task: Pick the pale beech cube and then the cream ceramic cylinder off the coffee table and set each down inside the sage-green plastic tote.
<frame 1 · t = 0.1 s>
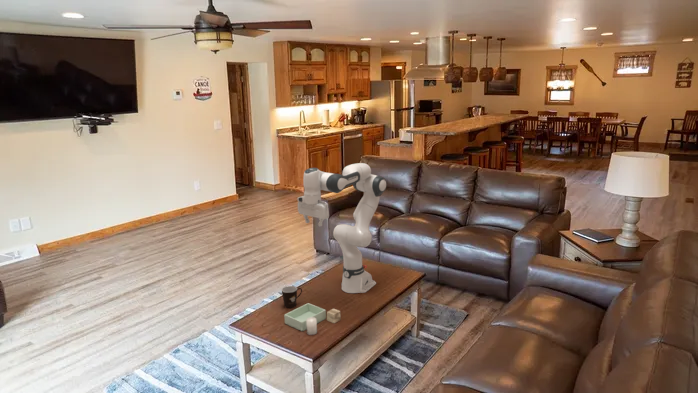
hand: (313, 224, 254), 48 cm above the table, fingers open, 8 cm apart
tote: (305, 321, 250), on the table
coffee mug: (293, 305, 268), on the table
ceramic cylinder: (312, 332, 239), on the table
beech cube: (333, 320, 250), on the table
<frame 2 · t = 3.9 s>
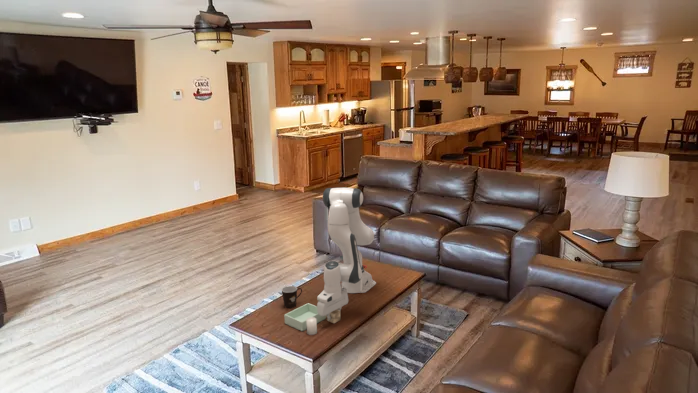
hand: (333, 317, 250), 2 cm above the table, fingers closed on beech cube, 5 cm apart
beech cube: (333, 320, 250), on the table, touching gripper
everything else where it was.
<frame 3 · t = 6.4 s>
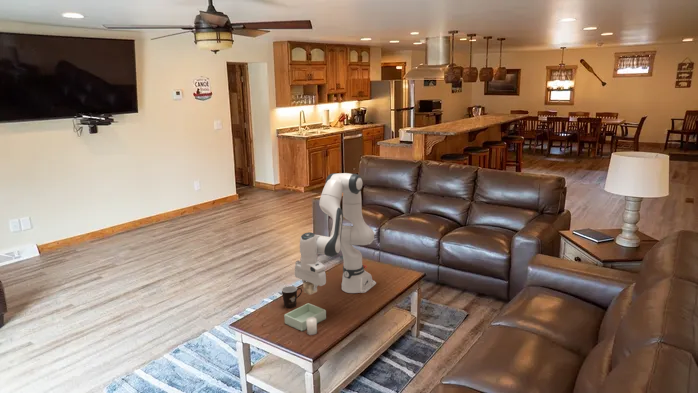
hand: (310, 289, 249), 16 cm above the table, fingers closed on beech cube, 5 cm apart
beech cube: (310, 291, 250), point 15 cm above the table, touching gripper
everything else where it was.
when the fingers open (4 cm above the table, at t = 9.0 s): beech cube drops 1 cm, resting on tote.
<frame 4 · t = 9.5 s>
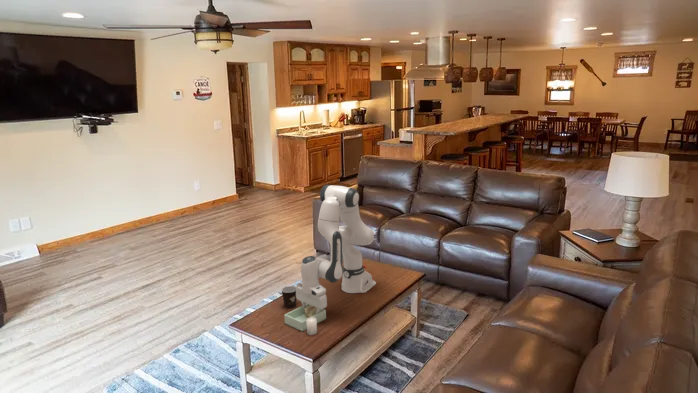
hand: (311, 311, 252), 4 cm above the table, fingers open, 8 cm apart
beech cube: (311, 316, 253), point 1 cm above the table, touching tote
everything else where it was.
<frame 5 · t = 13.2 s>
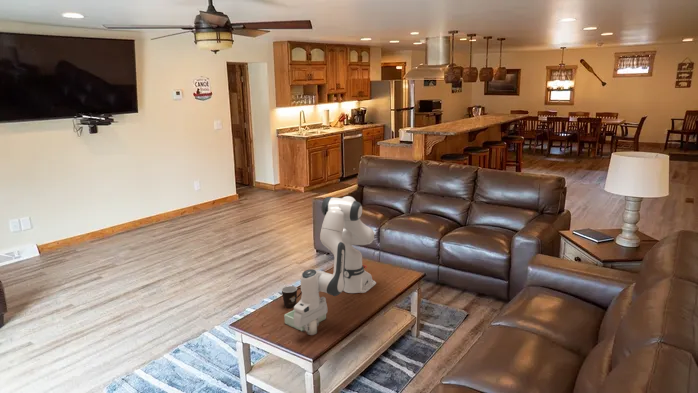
hand: (311, 328, 238), 2 cm above the table, fingers closed on ceramic cylinder, 5 cm apart
ceramic cylinder: (312, 332, 239), on the table, touching gripper
everything else where it was.
when the fingers open (4 cm above the table, at t = 18.1 s): ceramic cylinder drops 1 cm, resting on tote.
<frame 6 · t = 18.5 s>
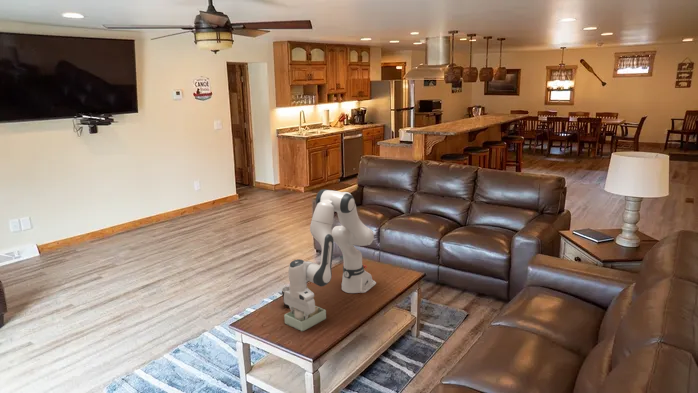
hand: (299, 316, 246), 4 cm above the table, fingers open, 8 cm apart
ceramic cylinder: (300, 322, 247), point 1 cm above the table, touching tote
everything else where it was.
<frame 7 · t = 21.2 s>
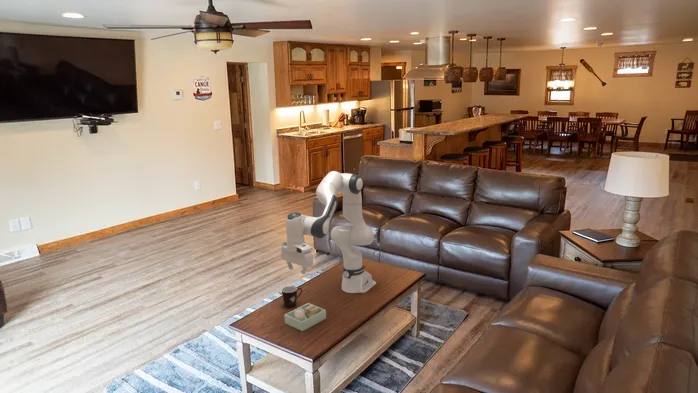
hand: (297, 271, 240), 29 cm above the table, fingers open, 8 cm apart
nothing on the table moved.
at the end: beech cube inside the target area on the tote (4.6 cm from its centre), point 0.6 cm above the tote's base; ceramic cylinder inside the target area on the tote (3.9 cm from its centre), point 0.6 cm above the tote's base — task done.
